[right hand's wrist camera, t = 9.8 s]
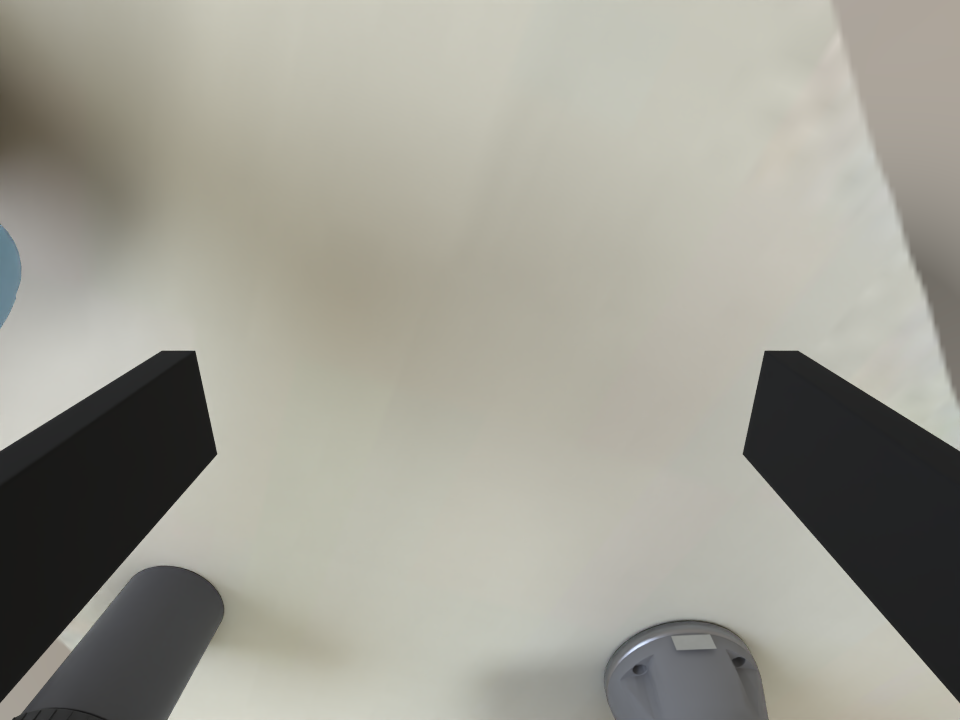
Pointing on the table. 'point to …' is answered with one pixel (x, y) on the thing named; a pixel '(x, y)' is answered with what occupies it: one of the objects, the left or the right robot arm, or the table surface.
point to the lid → (55, 715)
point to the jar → (138, 649)
